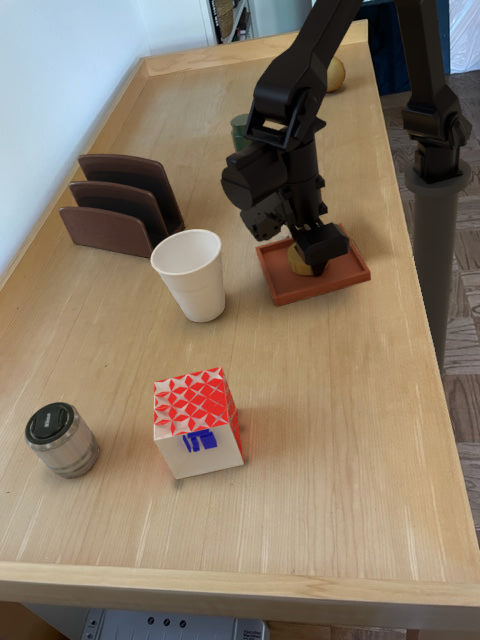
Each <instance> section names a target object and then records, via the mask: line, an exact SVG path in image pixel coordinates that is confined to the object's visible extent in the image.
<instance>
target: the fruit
mask: <svg viewBox="0 0 480 640" xmlns="http://www.w3.org/2000/svg"><path fill="white" fill-rule="evenodd" d="M346 71H347V70H346V69H345V65H344V62H342V60H341V59H339V58H338V57H337V56H335V55H334V57H333V59H332V60H331V63H330V65H329V68H328V70H327V77H328V89H327V92H326V93H331V92H334V91H335V90H338V89H340V88H341V86H342V85H343V83H344V81H345V80H346V75H347V74H346Z"/></svg>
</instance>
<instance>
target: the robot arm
mask: <svg viewBox="0 0 480 640" xmlns="http://www.w3.org/2000/svg"><path fill="white" fill-rule="evenodd" d="M364 1H365V0H315V1H314V4H313V6H312V7H311V9H310V10H309V13H308V15H307V16H306V19H305V20H304V22H303V24H302V26H301V27H300V30H299V31H298V33H297V35H296V37H295V38H294V40H293V42H292V43H291V44H290V46H289V47H288V48H287V49H285V50H284V51H282V52H281V53H280V54H278V55H277V56H276V57H275V58H273V59H272V60H271V62H270V64H268V66H267V67H266V68H265V70H264V71H263V73H262V74H261V75H260V77H259V79H257V81H256V82H255V83H256V84H255V86H254V88H253V93H252V97H253V98H252V102H251V106H250V107H249V108H250V109H249V116H248V119H247V123H246V127H245V130H244V134H243V138H244V139H246V140H249V141H252V144H250V145H248V146H247V147H245V148H244V149H242V150H240V151H238V152H235V151H234V152H233V153H231V154H229V155H228V156H227V157H226V158H225V162H226V167H224V168H222V171H221V177H220V185H221V187H222V191H223V192H224V194H225V196H226V198H227V199H228V200H229V202H230V203H231V204H232V205H233V206H234V207H236V208H237V209H238V210H240V212H239V216H240V218H241V220H242V223H243V224H244V226H245V227H246V229H247V230H248V231H249V233H250V234H251V236H253V238H254V240H256V242H259V243H261V242H263V241H266V242H269V241H270V240H271V239H273V238H274V237H275V236H276V235H279V234H280V233H281V230H282V227H283V226H286V228H287V229H288V232H289V233H290V236H291V237H292V238H293V240H294V243H295V242H296V246H294V248H295V250H296V251H297V253H298V254H299V256H300V257H301V258H302V260H303V261H304V263H305V264H306V265H309V266H310V267H311V270H312V273H313V275H314V277H318V276H321V275H322V273H323V271H324V269H325V267H326V265H327V263H328V261H329V260H330V259H333V258H336V257H339V256H342V255H345V254H348V252H349V251H350V243H349V238H348V237H347V235H346V234H345V233H344V232H343V230H342V229H341V228H340V227H339V226H338V223H334V222H333V221H331V222H329V223H324V222H323V220H322V219H321V218H320V217H321V216H323V215H326V214H327V215H328V214H329V207H328V206H327V204H326V203H325V202H324V201H323V197H322V196H323V195H322V189H324V188H326V180H325V179H324V177H323V176H322V175H321V174H320V169H319V160H318V151H317V150H318V149H317V143H316V142H317V141H316V133H318V132H319V131H321V130H322V129H324V128H325V127H327V121H326V120H323V119H322V118H320V117H318V113H319V111H320V108H321V107H322V103H323V100H324V99H325V96H326V94H327V93H328V92H327V89H328V77H327V70H328V68H329V65H330V63H331V60H332V59H333V57H334V56H335V55H336V53H337V51H338V50H339V48H340V45H341V44H342V42H343V40H344V39H345V37H346V35H347V33H348V31H349V29H350V28H351V26H352V23H353V22H354V20H355V18H356V17H357V14H358V13H359V11H360V9H361V7H362V5H363V4H364ZM392 2H393V3H394V5H395V7H396V13H397V19H398V22H399V23H398V24H399V29H400V35H401V41H402V47H403V51H404V59H405V63H406V68H407V74H408V80H409V85H410V91H411V92H410V93H411V94H410V96H409V98H408V100H407V102H406V104H405V106H404V107H403V108H402V109H401V111H400V115H401V118H402V123H403V125H402V127H403V128H402V129H403V130H405V131H406V132H407V135H408V138H409V140H410V141H416V142H417V149H415V150H414V159H413V160H414V161H413V162H414V166H413V170H414V171H415V172H416V173H417V174H418V175H419V177H421V178H422V179H423V180H424V182H425V183H426V184H433V183H436V182H440V181H444V180H447V179H451V178H454V177H458V176H461V175H463V171H462V170H461V169H460V168H459V158H460V156H461V148H463V147H466V146H467V143H468V140H469V139H470V138H471V135H472V131H473V127H474V126H473V124H472V122H470V121H469V120H468V118H467V117H466V116H465V115H463V110H462V106H461V103H460V99H459V96H458V95H457V94H456V93H455V91H454V90H453V89H452V87H450V86H449V84H448V83H447V81H446V75H445V66H444V59H443V49H442V41H441V33H440V25H439V17H438V16H439V15H438V8H437V7H438V6H437V0H392ZM266 122H270V123H274V124H277V125H280V126H283V127H281V128H279V129H277V128H272V127H269V126H265V125H264V124H265V123H266ZM460 159H461V158H460Z"/></svg>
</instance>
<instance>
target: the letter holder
mask: <svg viewBox="0 0 480 640" xmlns="http://www.w3.org/2000/svg"><path fill="white" fill-rule="evenodd" d="M77 162H78V165H79V166H80V169H81V171H82V173H83V175H84V177H85V179H86V180H74V181H73V180H72V181H70V182H69V184H68V189H69V191H70V193H71V196H72V197H73V199H74V201H75V203H76V205H77V206H70V205H69V206H61V207H59V208H58V214H59V216H60V218H61V219H60V220H61V221H62V223H63V225H64V227H65V229H66V231H67V233H68V235H69V238H70V239H71V241H72V243H73V244H77V245H81V246H87V247H90V248H91V247H92V248H97V249H100V250H101V249H102V250H106V251H112V252H117V253H122V254H127V255H132V256H138V257H144V258H149V259H151V255H152V252H153V251H154V249H155V248H156V247H157V246H158V245H159V244H160V243H161V242H162V241H163V240H165V239H166V238H168V237H170V236H172V235H174V234H176V233H179V232H182V231H184V229H185V227H186V223H185V220H184V217H183V215H182V213H181V210H180V207H179V204H178V202H177V199H176V196H175V195H176V194H174V190H173V188H172V185H171V183H170V180H169V177H168V176H167V172H166V170H165V167H164V165H163V164H162V163H161V162H160V161H158V160H154V159H150V158H145V157H140V156H135V155H128V154H118V153H86V154H79V155H78V156H77Z"/></svg>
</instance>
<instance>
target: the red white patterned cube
mask: <svg viewBox="0 0 480 640" xmlns="http://www.w3.org/2000/svg"><path fill="white" fill-rule="evenodd" d="M239 423H240V422H239V415H238V408H237V406H236V403H235V400H234V397H233V394H232V391H231V388H230V386H229V383H228V380H227V377H226V374H225V371H224V369H223V366H222V365H221V366H218V367H213V368H208V369H204V370H200V371H195V372H191V373H187V374H183V375H178V376H173V377H170V378H165V379H160V380H157V381H153V442H154V444H155V446H156V447H157V450H158V451H159V453H160V454H161V456H162V458H163V460H164V461H165V464H166V466H168V469H169V470H170V473H171V474H172V476H173V477H174V480H181V479H186V478H189V477H194V476H199V475H203V474H204V475H205V474H208V473H213V472H217V471H222V470H227V469H230V468H234V467H240V466H244V465H245V458H244V451H243V445H242V438H241V429H240V424H239Z"/></svg>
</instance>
